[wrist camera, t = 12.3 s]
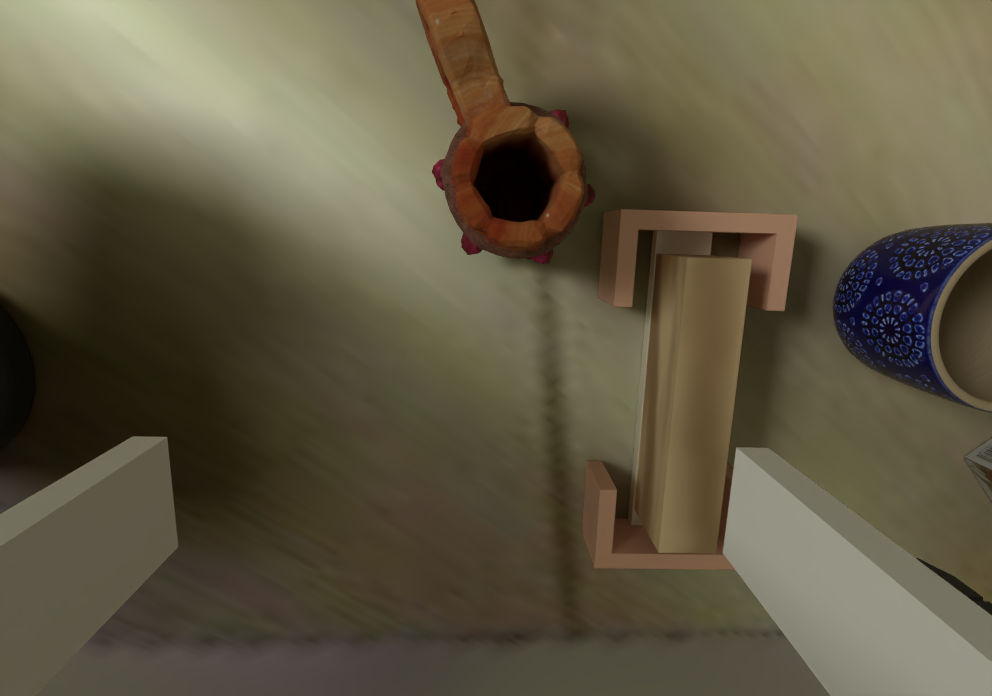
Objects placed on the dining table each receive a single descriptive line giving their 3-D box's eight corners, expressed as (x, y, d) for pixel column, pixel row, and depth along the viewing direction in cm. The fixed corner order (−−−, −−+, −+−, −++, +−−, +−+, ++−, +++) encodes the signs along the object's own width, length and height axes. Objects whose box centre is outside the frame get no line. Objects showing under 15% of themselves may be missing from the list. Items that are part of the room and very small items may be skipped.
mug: (580, 235, 40) (639, 236, 25) (477, 278, 40) (476, 305, 26) (504, 30, 37) (519, -104, 22) (393, 79, 37) (337, -20, 23)
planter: (947, 361, 43) (1108, 406, 32) (808, 374, 43) (922, 423, 32) (960, 218, 40) (1138, 213, 29) (813, 231, 40) (937, 231, 29)
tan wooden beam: (634, 509, 43) (658, 552, 37) (656, 253, 39) (687, 257, 33) (684, 509, 43) (715, 553, 38) (711, 255, 39) (751, 259, 33)
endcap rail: (581, 531, 45) (594, 568, 40) (603, 211, 39) (621, 209, 35) (719, 533, 45) (748, 569, 40) (758, 217, 40) (797, 215, 35)
